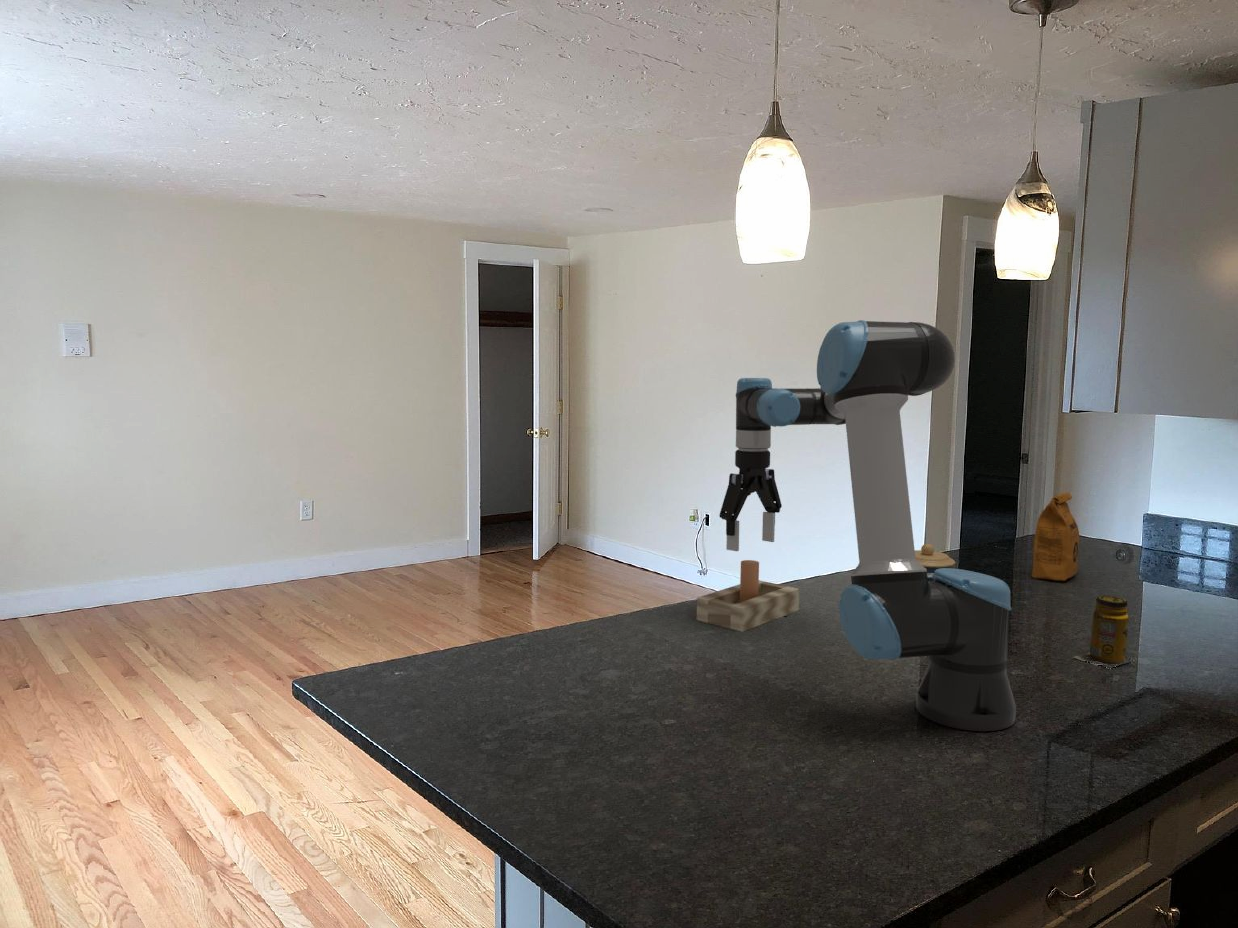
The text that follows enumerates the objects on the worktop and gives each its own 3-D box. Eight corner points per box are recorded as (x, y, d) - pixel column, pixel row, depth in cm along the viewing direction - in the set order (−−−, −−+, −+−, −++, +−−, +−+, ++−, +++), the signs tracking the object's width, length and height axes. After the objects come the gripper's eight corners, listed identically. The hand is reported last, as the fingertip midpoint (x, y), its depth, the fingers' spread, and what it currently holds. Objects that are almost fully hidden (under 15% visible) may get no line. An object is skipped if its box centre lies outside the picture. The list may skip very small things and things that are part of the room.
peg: (751, 618, 199) (752, 565, 197) (735, 615, 202) (737, 562, 200) (761, 615, 202) (762, 562, 200) (746, 611, 205) (747, 559, 203)
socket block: (742, 631, 190) (742, 608, 189) (696, 619, 198) (697, 597, 197) (798, 610, 206) (799, 588, 205) (754, 600, 214) (754, 579, 213)
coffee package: (1083, 577, 238) (1089, 494, 235) (1065, 585, 229) (1071, 499, 227) (1044, 570, 245) (1050, 489, 242) (1025, 577, 237) (1031, 494, 234)
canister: (935, 637, 187) (940, 553, 185) (880, 622, 197) (884, 542, 194) (967, 625, 196) (971, 544, 193) (913, 611, 205) (916, 535, 203)
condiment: (1134, 661, 173) (1139, 600, 172) (1110, 670, 169) (1115, 607, 167) (1097, 650, 179) (1101, 591, 178) (1073, 658, 175) (1077, 598, 173)
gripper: (770, 444, 209) (768, 535, 211) (703, 452, 191) (702, 551, 193) (798, 446, 204) (796, 539, 206) (733, 454, 185) (731, 556, 188)
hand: (750, 545), depth 199 cm, fingers open, 13 cm apart
